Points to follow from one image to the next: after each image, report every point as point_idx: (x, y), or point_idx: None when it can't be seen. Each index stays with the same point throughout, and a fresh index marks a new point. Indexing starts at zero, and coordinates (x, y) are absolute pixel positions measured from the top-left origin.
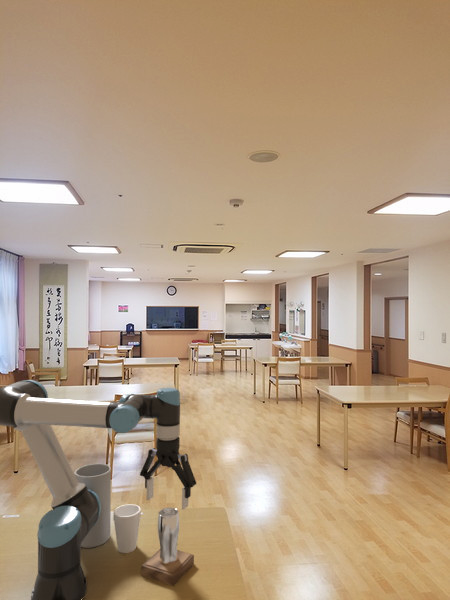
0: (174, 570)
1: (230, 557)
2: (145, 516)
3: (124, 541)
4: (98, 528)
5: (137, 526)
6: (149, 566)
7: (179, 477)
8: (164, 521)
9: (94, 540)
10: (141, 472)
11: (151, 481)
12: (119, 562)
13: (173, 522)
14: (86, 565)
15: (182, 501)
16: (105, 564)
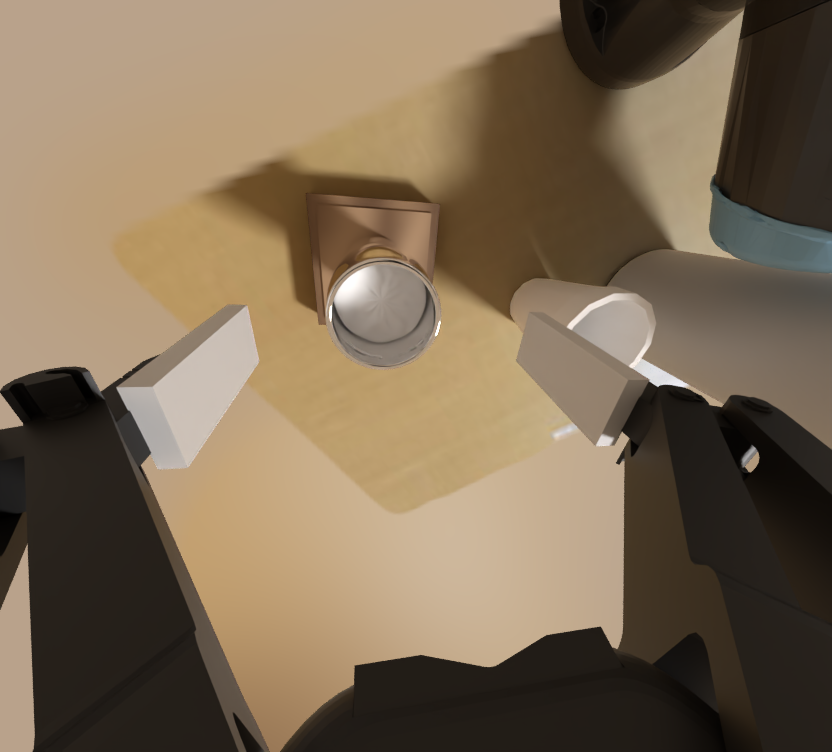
0: (320, 219)
1: (249, 380)
2: (542, 428)
3: (547, 284)
4: (654, 286)
5: None
6: (413, 210)
7: (120, 497)
8: (372, 254)
9: (637, 268)
10: (782, 420)
11: (589, 403)
12: (525, 234)
13: (331, 280)
14: (614, 178)
15: (216, 324)
16: (561, 207)
